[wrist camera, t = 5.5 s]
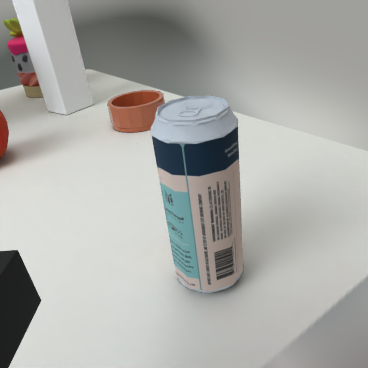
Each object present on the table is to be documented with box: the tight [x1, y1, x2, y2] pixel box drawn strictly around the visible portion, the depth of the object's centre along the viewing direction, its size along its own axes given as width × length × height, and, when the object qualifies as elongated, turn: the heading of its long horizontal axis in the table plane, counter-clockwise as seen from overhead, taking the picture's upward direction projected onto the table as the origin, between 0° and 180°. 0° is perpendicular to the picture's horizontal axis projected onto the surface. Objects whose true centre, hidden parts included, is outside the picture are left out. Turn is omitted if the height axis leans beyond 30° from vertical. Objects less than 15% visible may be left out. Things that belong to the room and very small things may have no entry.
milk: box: [12, 0, 94, 115], centre depth 58 cm, size 6×6×22 cm
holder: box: [107, 90, 165, 132], centre depth 52 cm, size 8×8×4 cm
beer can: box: [151, 96, 244, 293], centre depth 22 cm, size 5×5×12 cm
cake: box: [4, 18, 43, 97], centre depth 73 cm, size 10×11×15 cm
